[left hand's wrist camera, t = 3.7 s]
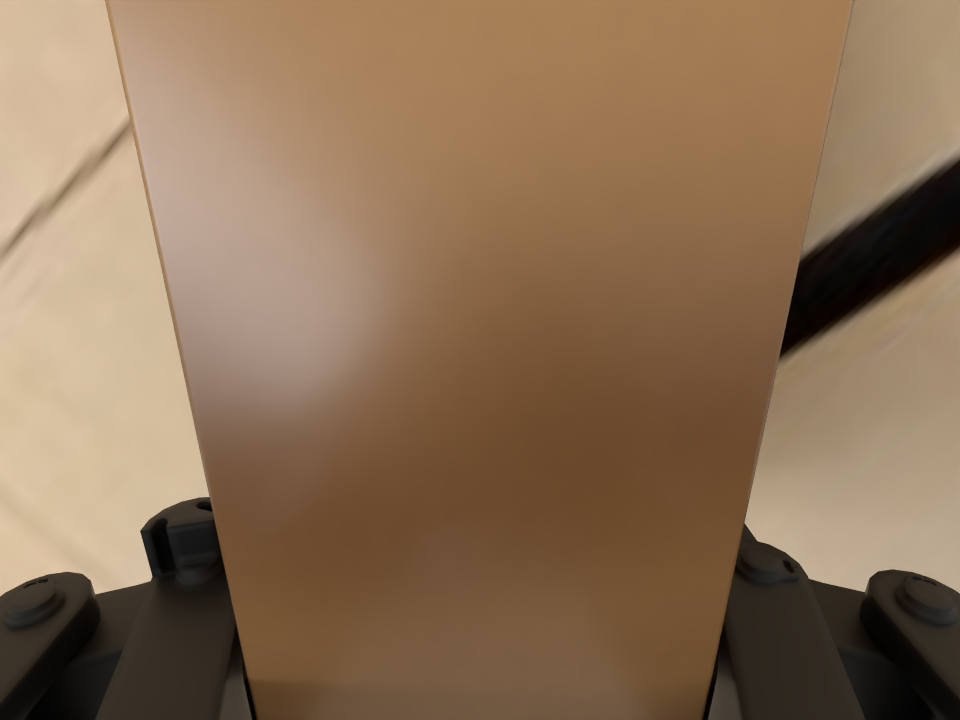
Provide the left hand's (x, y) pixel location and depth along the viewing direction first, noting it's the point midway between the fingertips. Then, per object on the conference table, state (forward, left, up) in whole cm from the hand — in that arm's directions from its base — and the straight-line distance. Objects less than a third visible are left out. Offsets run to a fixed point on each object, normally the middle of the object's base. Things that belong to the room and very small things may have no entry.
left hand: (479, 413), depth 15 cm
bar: (+11, 0, -1) cm, 11 cm away
